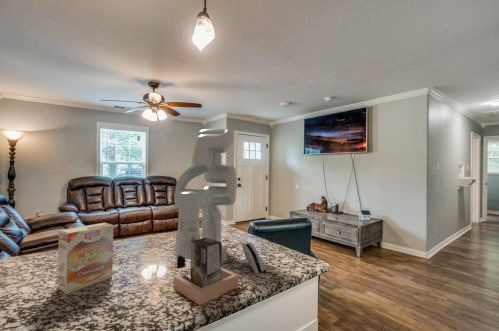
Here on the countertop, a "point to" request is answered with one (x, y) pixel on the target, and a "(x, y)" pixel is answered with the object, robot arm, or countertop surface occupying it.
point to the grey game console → (253, 258)
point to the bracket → (207, 287)
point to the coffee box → (205, 261)
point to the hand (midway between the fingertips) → (188, 271)
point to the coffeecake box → (84, 256)
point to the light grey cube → (224, 254)
